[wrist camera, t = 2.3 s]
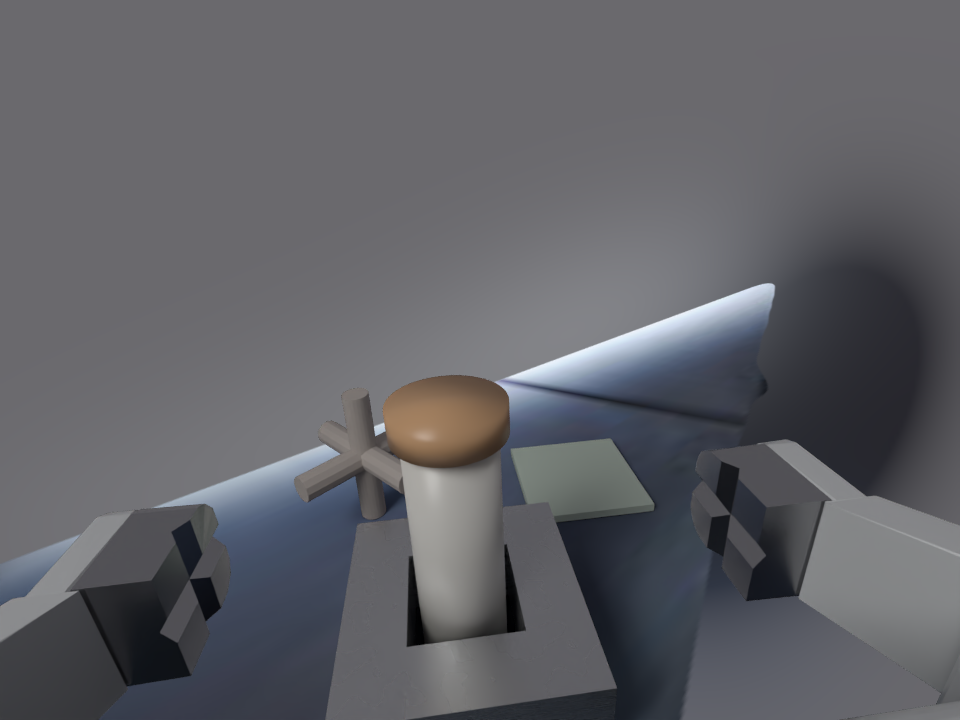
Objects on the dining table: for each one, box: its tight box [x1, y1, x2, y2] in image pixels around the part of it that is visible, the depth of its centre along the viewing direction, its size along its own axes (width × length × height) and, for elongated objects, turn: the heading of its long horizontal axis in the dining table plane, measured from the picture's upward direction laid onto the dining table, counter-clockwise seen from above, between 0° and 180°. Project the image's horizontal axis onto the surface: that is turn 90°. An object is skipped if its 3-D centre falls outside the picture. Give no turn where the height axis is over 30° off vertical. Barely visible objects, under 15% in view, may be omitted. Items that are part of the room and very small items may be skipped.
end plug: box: [383, 375, 510, 644], centre depth 24 cm, size 5×5×15 cm
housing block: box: [325, 502, 617, 720], centre depth 26 cm, size 12×12×4 cm
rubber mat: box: [511, 439, 654, 522], centre depth 40 cm, size 9×9×1 cm
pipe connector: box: [294, 388, 405, 519], centre depth 36 cm, size 10×10×10 cm
